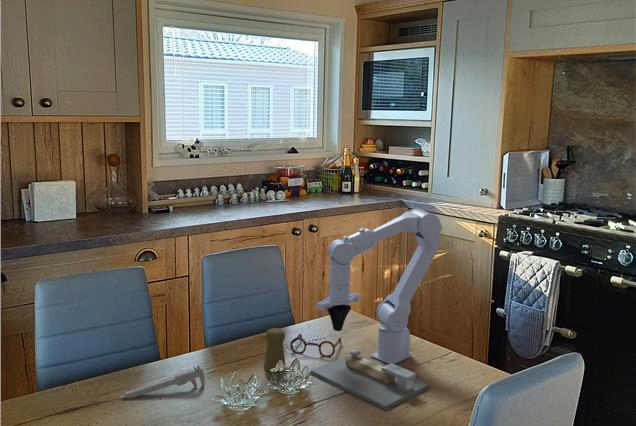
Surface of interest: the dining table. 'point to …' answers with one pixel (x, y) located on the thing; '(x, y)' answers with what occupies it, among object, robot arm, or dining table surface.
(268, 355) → the cork
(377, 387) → the charcoal board
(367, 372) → the wooden link
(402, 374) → the block
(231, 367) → the dining table surface
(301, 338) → the glasses
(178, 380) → the caliper
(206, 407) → the dining table surface
